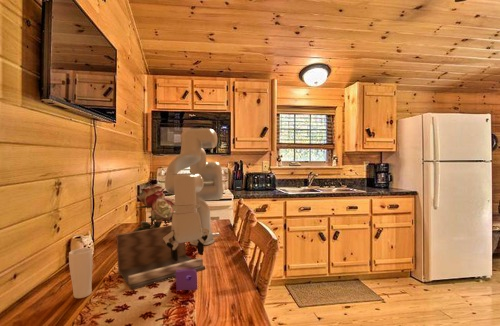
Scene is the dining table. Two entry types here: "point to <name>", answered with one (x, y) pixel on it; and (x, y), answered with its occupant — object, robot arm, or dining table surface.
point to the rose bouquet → (156, 206)
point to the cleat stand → (150, 257)
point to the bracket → (186, 279)
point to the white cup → (81, 271)
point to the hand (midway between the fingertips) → (188, 257)
